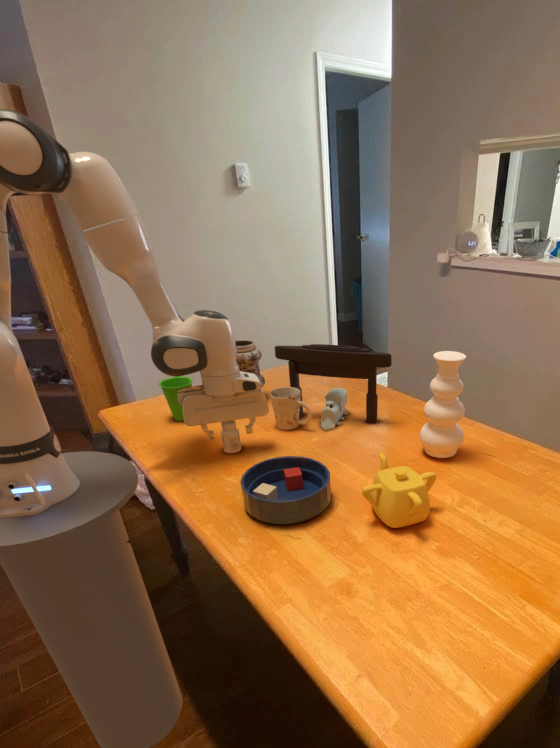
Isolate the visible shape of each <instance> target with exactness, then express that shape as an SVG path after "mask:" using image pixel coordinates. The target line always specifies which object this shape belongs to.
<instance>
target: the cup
mask: <svg viewBox="0 0 560 748" xmlns="http://www.w3.org/2000/svg"><path fill="white" fill-rule="evenodd" d="M192 384H193V379H192V378H191V377H189V376H178V377H174V376H170V377H166V378H163V379H162V380H160V381H159V382H158V386H159V387H160V388H161V391H162V393H163V395H164V397H165V398H164V399H165V401H166V402H167V405H168V407H169V409H170V412H171V414H172V417H173V419H174V420H175V421H177V422H184V417H183V406H181V405H180V404H179V402H178V398H177V393H178V392H179V391H180V390H182V389H183V388H184V387H193V385H192ZM182 392H183V391H182Z"/></svg>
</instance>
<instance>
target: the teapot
mask: <svg viewBox="0 0 560 748" xmlns="http://www.w3.org/2000/svg"><path fill="white" fill-rule="evenodd" d="M378 457H379V460H380V469H379V471H377V473H376V475H375V477H374V479H373V482H372V484H368V485H365V486H364V487H362V489H361V493H362V495H363V498H365V500H366V501H368V503H369V504H370V505H371V507H372V509H373V511H374V513H375V515H376V516H377V517H378V519H380V521H382V522H383V523H384V524H385V525H386V526H387V527H390V528H392V529H393V528H394V529H397V528H403V527H407V526H412V525H415V524H419V523H421V522H424V521H425V520H426V519H427V518H428V517H429V514H430V511H431V504H430V495H429V491H430V490H431V488H432V487H433V486H434V484H435V482H436V480H437V474H436V472H434V471H427V472H423V473H421V474H420V473H418V472H417V471H415V470H414V469H413V468H411V467H410V466H407V465H399V466H394V467H390V464H389V462H388V458H387V456H386V455H385V453H383V452H382V451H380V452H378ZM425 480H426V482H425Z"/></svg>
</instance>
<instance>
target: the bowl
mask: <svg viewBox="0 0 560 748" xmlns="http://www.w3.org/2000/svg"><path fill="white" fill-rule="evenodd" d="M296 467H299V468H300V470H301V473H302V479H303V488H302V489H296V490H290V491H287V488H286V485H285V479H284V469H290V468H296ZM239 483H240V490H241V494H242V500H243V505H244V509H245V511H246V512H247V513H248V514H249V516H251V517H252V518H254V519H256V520H258V521H260V522H264V523H267V524H272V525H294V524H299V523H303V522H306V521H308V520H311V519H313V518H315V517H316V516H318V515H321V514H322V512H324V510H326V509H327V508H328V506H329V505H330V503H331V500H332V488H331V487H332V486H331V485H332V484H331V472H330V470H329V468H328V467H327V466H326V465H325V464H324V463H322V462H321V461H319V460H317V459H314V458H311V457H307V456H300V455H298V456H297V455H285V456H284V455H283V456H276V457H272V458H268V459H264V460H262V461H259V462H258V463H255V464H253V465H252V466H250V467H249V468H247V469H246V471H245V472H243V474H242V475H241V479H240V482H239ZM262 483H265V484H268V485H272V486H276V487H277V494H278V500H268V499H263V498H259V497H257V496H255V495H253V491H254V490H255V489H256V488H257V487H258V486H260V485H261V484H262Z"/></svg>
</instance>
